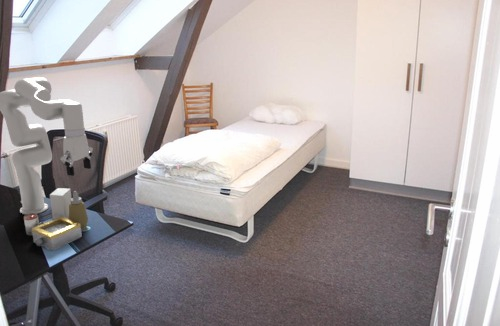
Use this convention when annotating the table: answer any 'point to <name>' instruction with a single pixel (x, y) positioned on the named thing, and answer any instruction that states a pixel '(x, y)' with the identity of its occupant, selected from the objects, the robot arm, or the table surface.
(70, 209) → the squeeze bottle
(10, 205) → the table surface
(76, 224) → the box
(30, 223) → the spout can
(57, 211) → the skincare box
